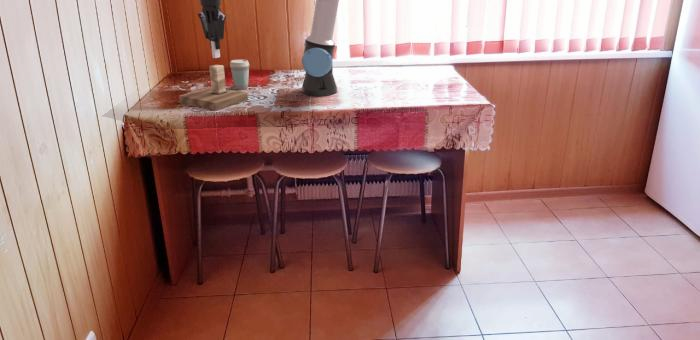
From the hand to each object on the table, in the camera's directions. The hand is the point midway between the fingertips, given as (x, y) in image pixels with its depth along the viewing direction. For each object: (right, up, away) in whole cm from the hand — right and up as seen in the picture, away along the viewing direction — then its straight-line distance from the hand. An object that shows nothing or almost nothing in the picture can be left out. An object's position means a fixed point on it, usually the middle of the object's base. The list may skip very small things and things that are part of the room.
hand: (216, 57), depth 204 cm
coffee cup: (+5, -8, +25) cm, 27 cm away
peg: (0, -16, +7) cm, 17 cm away
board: (-2, -17, +4) cm, 18 cm away
